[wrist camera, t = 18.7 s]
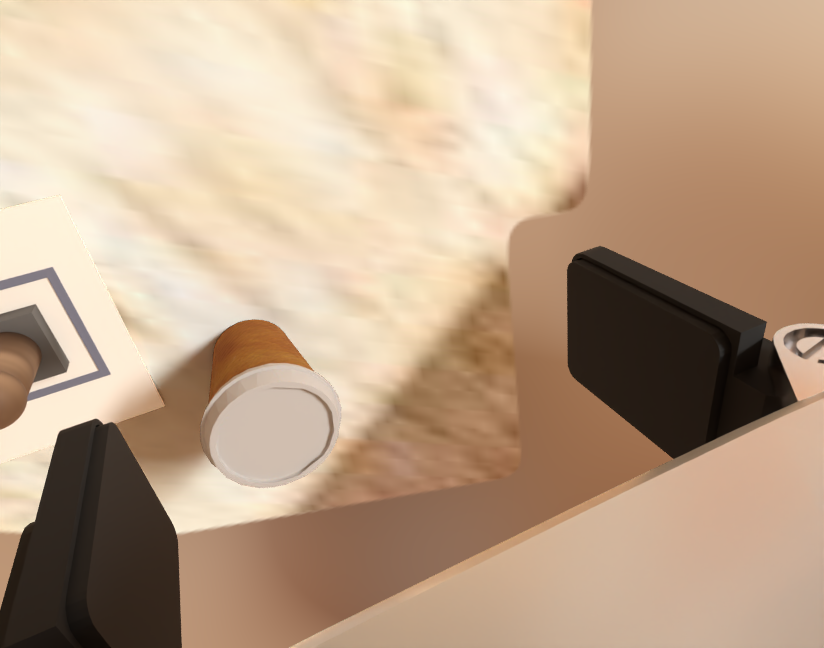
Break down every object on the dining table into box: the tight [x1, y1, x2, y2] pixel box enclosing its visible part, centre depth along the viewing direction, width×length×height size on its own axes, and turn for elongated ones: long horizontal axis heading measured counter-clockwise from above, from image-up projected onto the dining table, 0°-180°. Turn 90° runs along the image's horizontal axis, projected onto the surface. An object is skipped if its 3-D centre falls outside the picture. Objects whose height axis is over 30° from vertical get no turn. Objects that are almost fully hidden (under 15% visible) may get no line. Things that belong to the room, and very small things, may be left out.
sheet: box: [0, 195, 165, 464], centre depth 38 cm, size 18×14×1 cm
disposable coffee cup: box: [200, 320, 341, 488], centre depth 41 cm, size 10×10×12 cm
